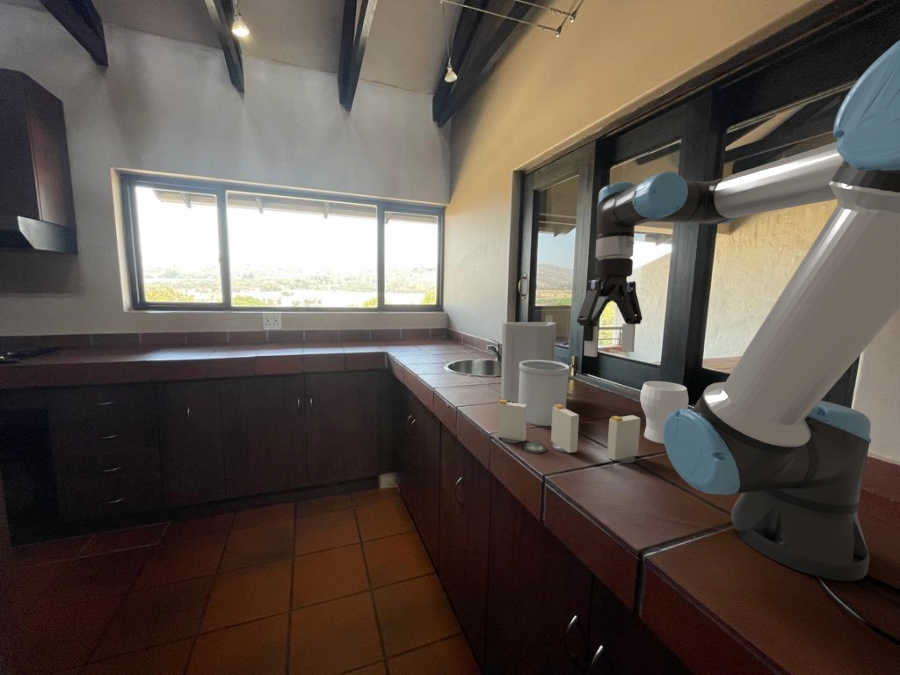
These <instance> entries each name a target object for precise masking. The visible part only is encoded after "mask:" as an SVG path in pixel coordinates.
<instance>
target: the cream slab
mask: <svg viewBox="0 0 900 675" xmlns="http://www.w3.org/2000/svg"><path fill="white" fill-rule="evenodd" d="M526 414H527V404H519V403H512V402H508V401H507V400H503V399H502V398H501V399H500V400H498V403H497V427H496V428H497V433H496V434H497V435H496V436H497V437H498V438H501V441H502V442H505V443H507V444H518V443H521V442H525V440H526V438H527V422H526Z"/></svg>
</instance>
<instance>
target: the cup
mask: <svg viewBox="0 0 900 675" xmlns="http://www.w3.org/2000/svg"><path fill="white" fill-rule="evenodd" d="M639 398H640V400H639V401H640V404H641V408H642V410H643V412H644V415H645V421H646V425H645V426H646V427H645V430H644V433H643V436H644V438H646V439H647V440H650V441H651V442H654V443H658V444H662V445H663V444H664V440H663V428H664V423H665V421H666V419H667V417H668V416H669V415H670V414H671V413H673V412H675V411H678V410H680V409H689V408H688V407H689V395H688V388H687V387H686V386H685V385H682V384H679V383H674V382H670V381H658V380H657V381H656V380H652V381H646V382H645V381H644V383H643V385H642V387H641V391H640V397H639Z"/></svg>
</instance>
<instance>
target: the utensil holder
mask: <svg viewBox="0 0 900 675" xmlns="http://www.w3.org/2000/svg"><path fill="white" fill-rule="evenodd" d="M519 369H520V376H519V404H527V414H526V424H530V425H535V426H540V427H546V426H547V427H552V407H554V405H556V404H560V405H563V408H565V409H567V400H568V399H567V398H568V385H569V373H570V371H571V368H570V365H568V364H566V363H564V362H561V361H556V360H555V361H548V360H526V361H522V362H520V363H519Z"/></svg>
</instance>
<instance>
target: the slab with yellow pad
mask: <svg viewBox="0 0 900 675" xmlns="http://www.w3.org/2000/svg"><path fill="white" fill-rule="evenodd" d="M608 421H609V423H608V436H607V450H606V452H607V453H606V457H607V458H610V460H613V462H614V461H615V462H617V463H618V462H619V463H622V464H632V463H635V462H636V457H637V456H639V444H640V433H641V432H640V430H641V417H639V416H636V415H634V414H631V415H625V416H618V415H613V416H611V417H610V418H609V420H608Z"/></svg>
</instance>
